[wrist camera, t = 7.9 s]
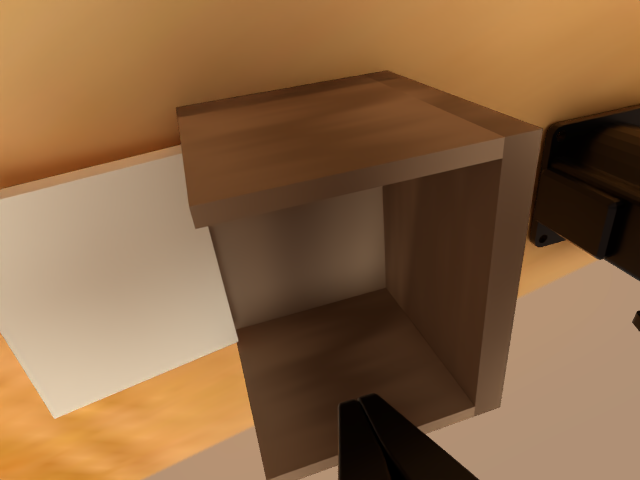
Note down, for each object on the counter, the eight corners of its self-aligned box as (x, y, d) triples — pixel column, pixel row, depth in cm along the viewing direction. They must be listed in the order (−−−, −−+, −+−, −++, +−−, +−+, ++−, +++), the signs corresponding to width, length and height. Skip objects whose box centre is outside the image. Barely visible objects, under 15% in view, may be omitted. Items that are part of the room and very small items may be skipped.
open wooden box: (387, 70, 17) (542, 128, 10) (392, 273, 22) (500, 407, 15) (176, 107, 16) (188, 206, 9) (231, 317, 21) (269, 490, 14)
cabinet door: (188, 151, 14) (-72, 217, 12) (238, 341, 18) (54, 418, 16) (179, 142, 15) (-62, 201, 13) (229, 324, 19) (54, 395, 17)
